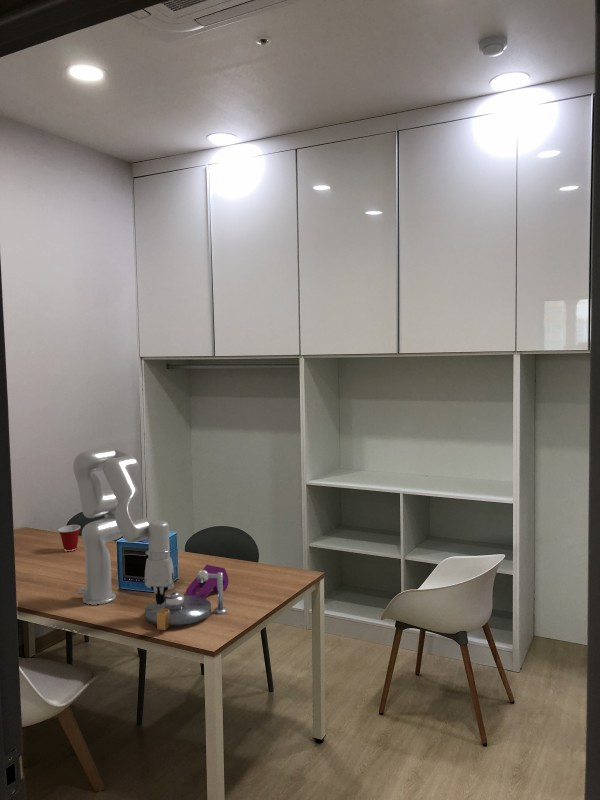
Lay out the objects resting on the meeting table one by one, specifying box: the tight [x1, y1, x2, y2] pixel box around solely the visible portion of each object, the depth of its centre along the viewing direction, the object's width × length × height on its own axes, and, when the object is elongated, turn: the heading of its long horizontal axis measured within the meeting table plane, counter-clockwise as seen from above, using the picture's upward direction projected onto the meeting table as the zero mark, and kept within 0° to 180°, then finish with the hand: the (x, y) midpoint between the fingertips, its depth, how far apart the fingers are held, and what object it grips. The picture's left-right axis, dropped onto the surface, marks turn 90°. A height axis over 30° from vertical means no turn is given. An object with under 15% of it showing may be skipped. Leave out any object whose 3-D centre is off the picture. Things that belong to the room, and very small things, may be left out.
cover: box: [165, 591, 185, 611], centre depth 238 cm, size 7×7×5 cm
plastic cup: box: [57, 524, 81, 550], centre depth 324 cm, size 11×11×12 cm
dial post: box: [195, 569, 228, 615], centre depth 242 cm, size 11×5×16 cm, turn 79°
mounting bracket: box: [185, 564, 229, 599], centre depth 261 cm, size 9×8×18 cm
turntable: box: [144, 595, 212, 631], centre depth 236 cm, size 24×28×6 cm
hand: (160, 603), depth 239 cm, fingers closed
